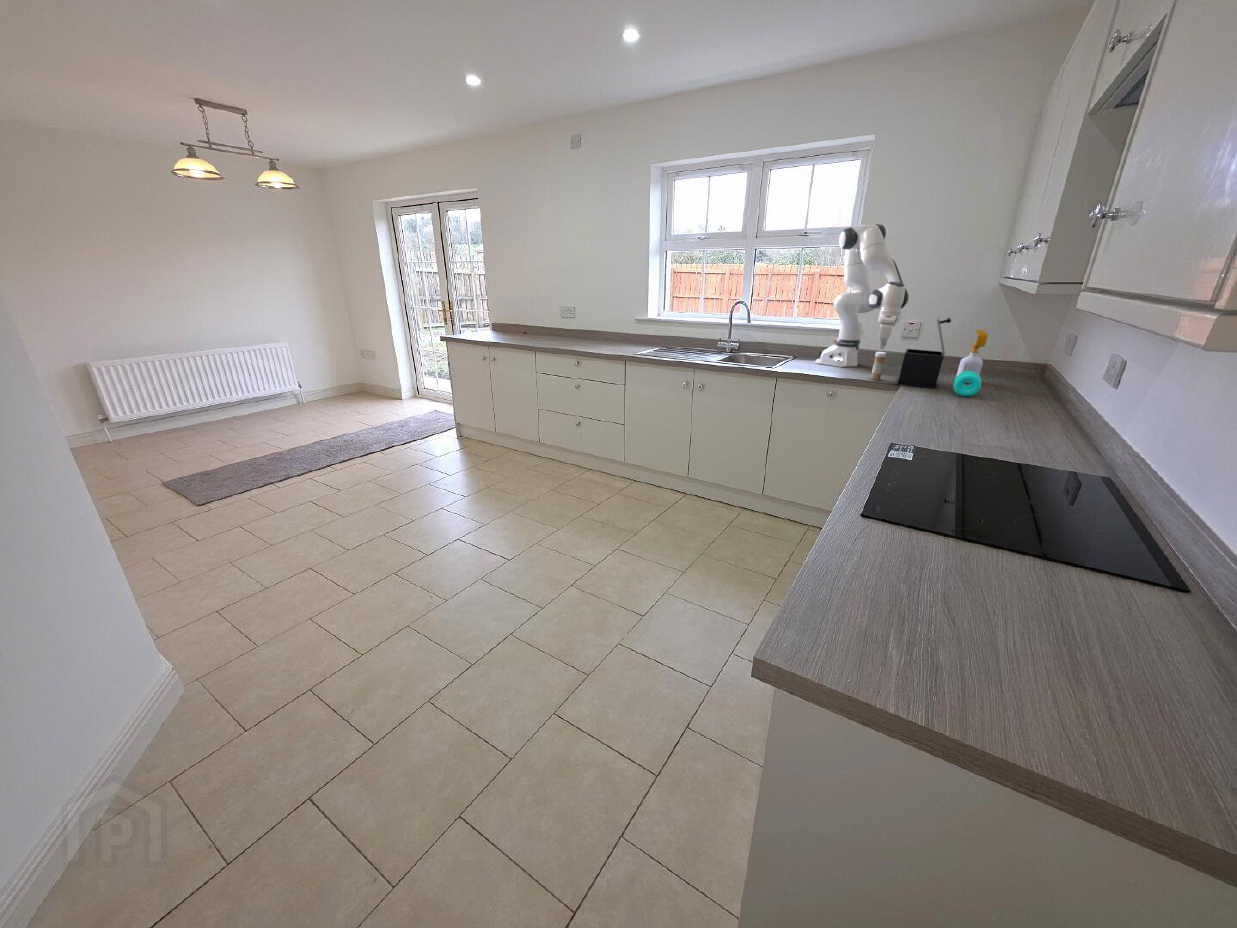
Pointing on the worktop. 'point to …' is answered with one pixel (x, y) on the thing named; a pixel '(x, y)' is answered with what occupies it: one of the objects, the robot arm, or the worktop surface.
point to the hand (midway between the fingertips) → (882, 347)
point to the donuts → (970, 389)
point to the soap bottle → (974, 355)
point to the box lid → (941, 331)
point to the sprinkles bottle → (878, 365)
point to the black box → (920, 368)
